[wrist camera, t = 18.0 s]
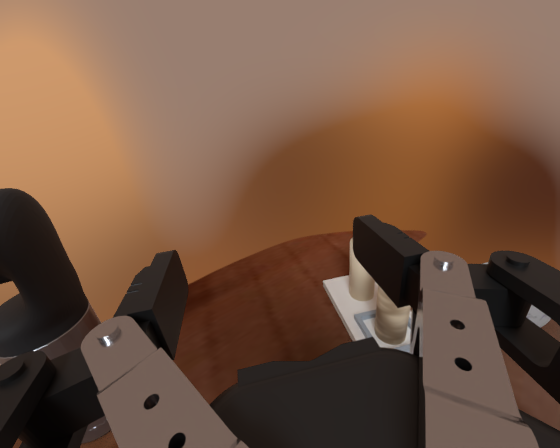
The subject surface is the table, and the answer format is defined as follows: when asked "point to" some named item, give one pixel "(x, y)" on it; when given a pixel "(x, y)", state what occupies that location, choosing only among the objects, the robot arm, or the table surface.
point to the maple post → (390, 320)
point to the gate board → (359, 303)
